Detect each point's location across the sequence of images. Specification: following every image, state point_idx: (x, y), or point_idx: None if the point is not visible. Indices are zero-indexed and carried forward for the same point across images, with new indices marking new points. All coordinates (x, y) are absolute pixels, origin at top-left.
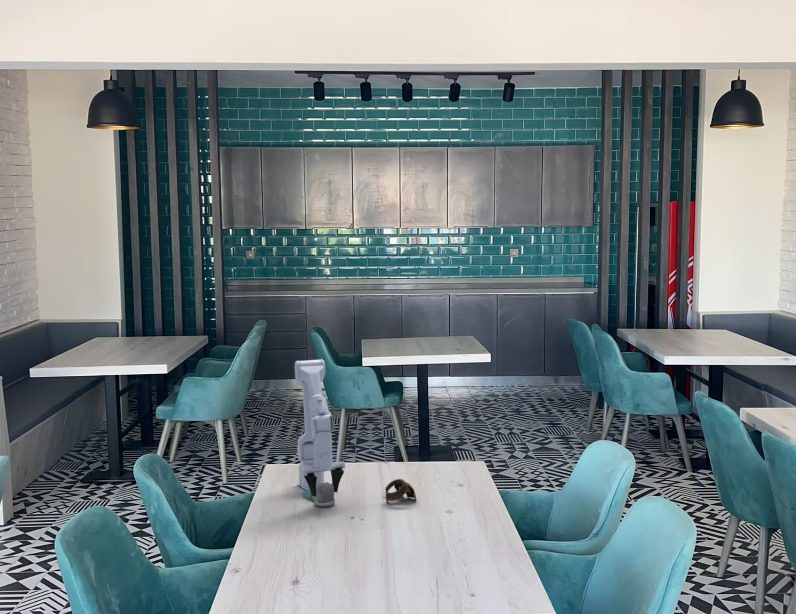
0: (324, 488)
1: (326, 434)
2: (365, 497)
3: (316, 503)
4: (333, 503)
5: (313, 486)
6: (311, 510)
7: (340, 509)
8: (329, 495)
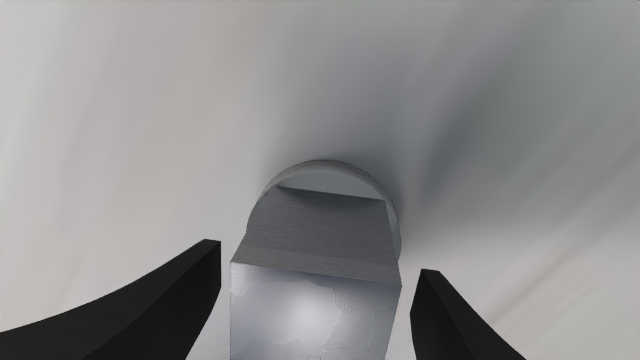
0: (358, 270)
1: None
2: (17, 164)
3: (399, 241)
4: (286, 174)
5: (499, 343)
6: (472, 193)
7: (295, 56)
8: (308, 214)
